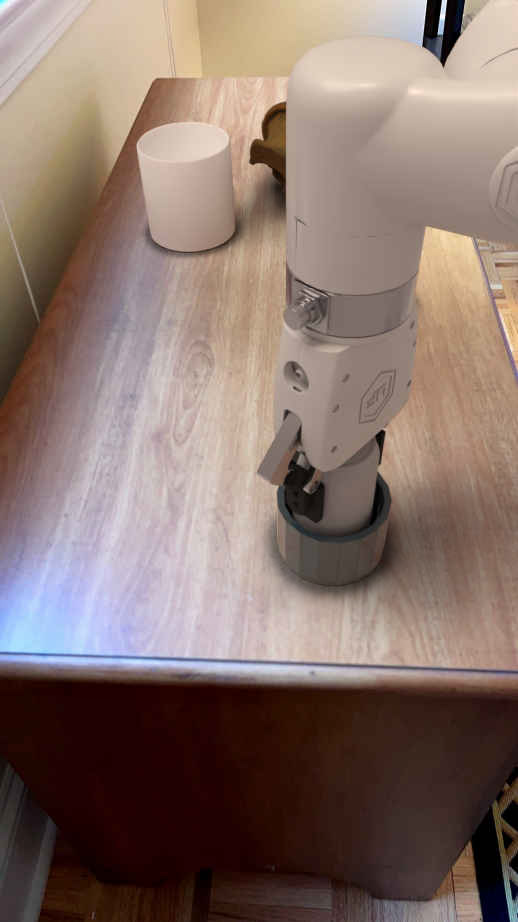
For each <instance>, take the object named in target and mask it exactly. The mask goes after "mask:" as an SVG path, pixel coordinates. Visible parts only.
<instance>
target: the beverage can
mask: <svg viewBox="0 0 518 922" xmlns="http://www.w3.org/2000/svg"><path fill="white" fill-rule="evenodd" d="M379 456H380V451H379V446H378V444H377V442H376V437H375V436H374V437H373V438H372V439H371V440H370V441H368V442H367V443H366V444H365V445H364V446H363V447H362V448H361V449H359V450H358V451H357V452H356V453H355V454H354V455H353V456H352V457H350V458H349V459H348V460H347V461H346V462H344V463H343V464H342V465H341V466H339V467H337V468H336V469H333V470H331V471H327V472H323V475H322V478H321V481H320V482H321V483H322V484H323V485H324V486H325V496H324V511H323V519H322V520H321V521H320V522H319V523H317V524H316V523H314V522H313V521H311V520H310V519H308V518H307V517H305V516H304V515H303V516H300V515H298V514H297V513H295V512H294V511H293V519H294V520H295V521H296V522H297V523H298V524H300V525H301V526H302V527H303V528H304V529H306V530H309V531H312V532H314V533H317V534H319V535H322V536H332V537H343V536H348V535H353V534H358V533H359V532H361V531H363V530H365V529H367V528H368V527H370V522H371V514H372V507H373V500H374V493H375V486H376V478H377V471H378V469H379V466H378V464H379ZM297 464H298V465H300V466H302V467H303V468H305V469H307V470H308V471H309V468H310V465H311V464H310V463H309V461H308V459H307V457H306V456H305V455H303V454H302V453H300V456H299V459H298V462H297ZM378 472H379V471H378Z"/></svg>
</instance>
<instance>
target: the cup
mask: <svg viewBox="0 0 518 922" xmlns="http://www.w3.org/2000/svg"><path fill="white" fill-rule="evenodd" d="M136 153H137V160H138V166H139V172H140V178H141V184H142V191H143V198H144V203H145V207H146V208H145V209H146V216H147V222H148V228H149V233H150V237H151V239H152V240H153V241H154V243H156V244H157V245H159V246H161V247H163V248H165V249H167V250H169V251H170V250H171V251H173V252H174V251H175V252H180V253H181V252H183V253H194V252H203V251H207V250H211V249H214V248H217V247H219V246H221V245H223V244H224V243H226V242H227V241H228V240H230V239H231V238H232V237H233V236H234V234H235V231H236V209H235V194H234V193H235V192H234V177H233V175H234V174H233V161H232V160H233V159H232V142H231V136H230V135H229V133H228V132H227V131H226V130H225V129H224V128H221V127H219V126H217V125H214V124H211V123H205V122H199V121H182V122H173V123H168V124H164V125H160V126H157V127H154V128H152V129H150V130H148V131H146V132H145V133H144V134H142V135H141V136H140V138H139V139H138V140H137V142H136Z"/></svg>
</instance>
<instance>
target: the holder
mask: <svg viewBox="0 0 518 922" xmlns="http://www.w3.org/2000/svg"><path fill="white" fill-rule="evenodd" d="M392 504H393V500H392V495H391V490H390V487H389V484H388V482H387V481H386V480H385V479H384V477H383V476H382V474H381V473H380V472H379V471H377V478H376V486H375V493H374V500H373V507H372V514H371V522H370V527H368V528H367V529H365V530H363V531H361V532H359V533H358V534H353V535H348V536H343V537H332V536H322V535H319V534H317V533H314V532H312V531H309V530H306V529H304V528H303V527H302V526H301V525H300V524H298V523H297V522H296V521H295V520H294V519H293V511H292V510H291V509H290V507H289V505H288V504H287V502H286V486H277V489H276V533H277V534H276V535H277V548H278V552H279V554H280V556H281V558H282V560H283V561H284V563H285V564H286V566H287V567H288V568H289V569H290V570H291V571H292V572H294V574H296V575H297V576H299V577H300V578H302V579H304V580H305V581H309V582H311V583H314V584H317V585H321V586H322V585H323V586H344V585H348V584H351V583H355V582H357V581H360V580H361V579H363V578H364V577H366V576H368V575H369V574H370V573H372V571H374V569H375V568H376V567H377V565H378V564H379V562H380V560H381V558H382V555H383V551H384V547H385V543H386V538H387V532H388V527H389V520H390V516H391V509H392Z"/></svg>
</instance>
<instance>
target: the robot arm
mask: <svg viewBox="0 0 518 922" xmlns="http://www.w3.org/2000/svg"><path fill="white" fill-rule="evenodd" d="M285 215H286V216H285V217H286V218H285V219H286V221H285V223H286V224H285V309H284V311H283V315H282V317H283V322H282V328H281V332H280V337H279V342H278V349H277V356H276V364H275V373H274V382H273V399H272V401H273V403H272V404H273V405H272V421H273V423H272V424H273V433H274V438H273V441H272V442H271V443H270V445H269V448H268V450H267V451H266V453H265V455H264V457H263V458H262V460H261V462H260V464H259V466H258V468H257V470H256V475H257V476H259V477H260V478H261V479H262V480H265V481H266V482H267V483H269V484H270V485H272V486H277V487H279V486H286V502H287V504H288V505H289V507H290V509H291V510H292V511H294V512H295V513H297V514H298V515H300V516H303V515H304V516H305V517H307V518H308V519H310V520H311V521H313V522H314V523H316V524H317V523H319V522H320V521H321V520H322V519H323V511H324V496H325V486H324V485H323V484H322V483H321V482H320V481H321V478H322V475H323V472H327V471H331V470H333V469H336V468H337V467H339V466H341V465H342V464H343V463H344V462H346V461H347V460H348V459H349V458H350V457H352V456H353V455H354V454H355V453H356V452H357V451H358V450H359V449H361V448H362V447H363V446H364V445H365V444H366V443H367V442H368V441H370V440H371V439H372V438H373V437H374V436H375V437H376V442H377V444H378V446H379V451H380V456H379V464H378V467H379V466H381V464H382V459H383V453H384V452H383V451H384V445H385V441H386V440H385V439H386V434H387V431H386V430H385V429H386V428H387V427H388V426H389V425H390V423H391V421H393V420H394V419H395V418H396V417H397V416H398V415H399V414H400V413H401V411H402V410H403V409H404V408H405V407H406V405H407V403H408V401H409V399H410V396H411V395H410V394H411V390H412V385H413V376H414V369H415V362H416V352H417V342H418V341H417V340H418V339H417V338H418V323H419V321H418V318H419V317H418V301H417V300H418V299H417V292H416V290H417V283H418V278H419V272H420V265H421V259H422V254H423V247H424V240H425V235H426V229H427V228H431V229H436V230H438V231H439V230H441V231H444V232H448V233H452V234H456V235H460V236H463V237H467V238H471V239H475V240H481V241H486V242H490V243H494V244H502V245H508V246H518V0H488V1H487V3H486V4H484V6H483V7H482V8H481V9H480V10H479V11H478V13H476V15H475V16H474V17H473V19H472V20H470V22H469V24H468V25H467V26H466V27H465V29H464V30H463V31H462V33H461V34H460V36H459V37H458V39H457V40H456V42H455V43H454V46H453V47H452V49H451V50H450V53H449V55H448V56H447V58H446V61H445V63H444V66H443V64H442V63H441V61H440V60H439V58H438V57H437V56H436V55H435V54H434V53H432V52H431V51H430V50H428V49H427V48H425V47H424V46H422V45H419V44H416V43H413V42H410V41H407V40H403V39H399V38H395V37H386V36H375V35H373V36H371V35H370V36H369V35H368V36H365V35H363V36H351V37H350V36H349V37H343V38H338V39H333V40H330V41H326V42H323V43H321V44H318V45H316V46H314V47H311V48H310V49H309V50H307V51H306V52H305V53H304V54H302V56H300V57H299V59H298V60H297V61H296V62H295V64H294V66H293V67H292V69H291V72H290V75H289V77H288V82H287V86H286V203H285ZM300 453H302V454H303V455H305V456H306V457H307V459H308V461H309V463H310V464H311V465H310V468H309V471H308V470H307V469H305V468H303V467H302V466H300V465H298V464H297V462H298V459H299V456H300Z"/></svg>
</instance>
